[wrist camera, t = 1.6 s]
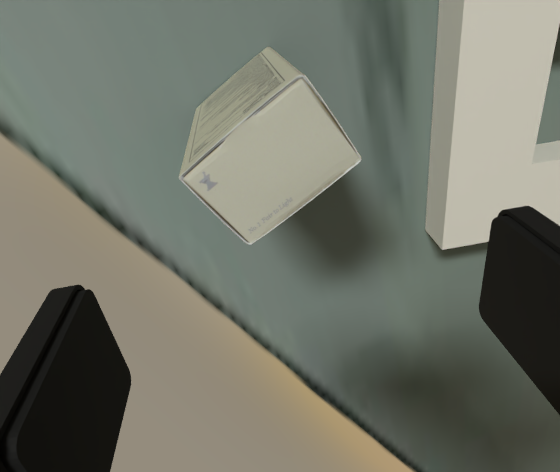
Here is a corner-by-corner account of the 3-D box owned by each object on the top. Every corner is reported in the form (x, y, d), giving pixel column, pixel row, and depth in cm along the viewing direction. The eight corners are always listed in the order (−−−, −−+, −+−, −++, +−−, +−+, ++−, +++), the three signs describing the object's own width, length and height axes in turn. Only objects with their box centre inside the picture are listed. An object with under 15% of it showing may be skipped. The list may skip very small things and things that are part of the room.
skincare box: (238, 157, 28) (246, 253, 18) (192, 106, 26) (171, 180, 16) (312, 97, 27) (368, 164, 16) (269, 38, 25) (303, 70, 14)
